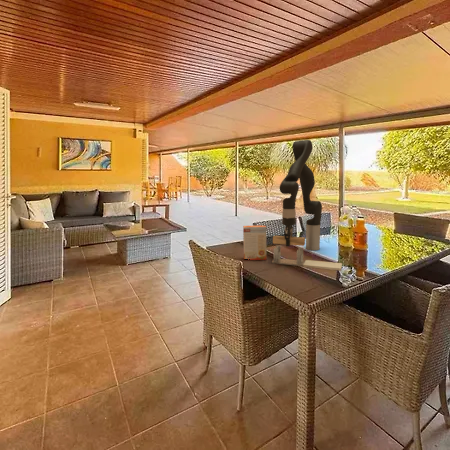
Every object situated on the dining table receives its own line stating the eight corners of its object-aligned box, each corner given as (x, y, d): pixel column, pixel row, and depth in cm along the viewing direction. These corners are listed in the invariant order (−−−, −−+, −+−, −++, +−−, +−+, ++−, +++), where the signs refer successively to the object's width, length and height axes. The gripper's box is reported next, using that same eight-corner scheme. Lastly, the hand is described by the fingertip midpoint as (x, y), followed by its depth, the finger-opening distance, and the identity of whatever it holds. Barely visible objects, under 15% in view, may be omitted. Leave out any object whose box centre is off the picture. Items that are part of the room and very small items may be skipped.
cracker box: (265, 257, 190) (265, 224, 186) (266, 260, 184) (266, 226, 180) (243, 257, 191) (243, 225, 187) (243, 260, 185) (243, 226, 181)
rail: (274, 242, 182) (274, 235, 181) (304, 244, 174) (305, 237, 174) (272, 243, 178) (272, 237, 177) (303, 245, 171) (303, 239, 170)
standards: (275, 259, 185) (275, 245, 184) (304, 262, 178) (305, 247, 176) (271, 263, 178) (271, 248, 176) (302, 266, 171) (302, 250, 169)
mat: (305, 261, 179) (306, 259, 179) (341, 265, 171) (342, 263, 171) (303, 266, 170) (303, 264, 170) (340, 270, 162) (341, 268, 162)
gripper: (285, 214, 181) (285, 242, 184) (279, 218, 168) (279, 247, 171) (297, 214, 178) (297, 242, 181) (293, 218, 165) (292, 248, 168)
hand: (288, 245), depth 176 cm, fingers closed on rail, 4 cm apart
